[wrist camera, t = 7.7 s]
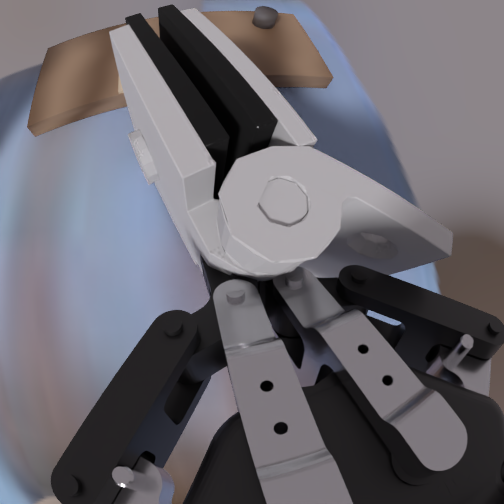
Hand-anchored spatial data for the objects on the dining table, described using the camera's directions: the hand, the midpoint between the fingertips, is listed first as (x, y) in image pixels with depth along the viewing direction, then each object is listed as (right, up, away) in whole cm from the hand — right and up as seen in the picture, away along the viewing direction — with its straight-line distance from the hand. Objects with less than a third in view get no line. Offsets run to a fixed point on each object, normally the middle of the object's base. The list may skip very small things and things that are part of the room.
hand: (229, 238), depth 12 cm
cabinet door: (-5, +16, +6) cm, 18 cm away
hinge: (0, +1, +5) cm, 5 cm away
